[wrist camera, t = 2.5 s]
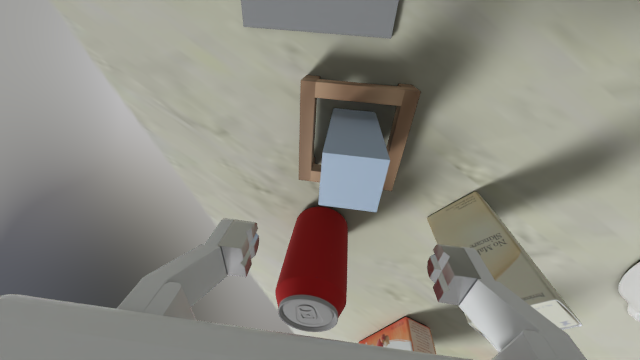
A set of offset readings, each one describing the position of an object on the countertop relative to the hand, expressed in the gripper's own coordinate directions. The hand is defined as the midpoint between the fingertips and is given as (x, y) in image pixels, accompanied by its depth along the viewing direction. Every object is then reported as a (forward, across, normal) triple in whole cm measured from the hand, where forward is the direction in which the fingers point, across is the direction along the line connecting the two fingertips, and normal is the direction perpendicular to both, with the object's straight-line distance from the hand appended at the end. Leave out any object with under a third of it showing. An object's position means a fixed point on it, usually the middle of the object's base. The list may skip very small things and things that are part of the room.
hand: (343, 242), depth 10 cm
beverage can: (+15, +1, +13) cm, 20 cm away
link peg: (+15, -1, 0) cm, 15 cm away
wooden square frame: (+15, -1, 0) cm, 15 cm away
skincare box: (+15, -15, +9) cm, 23 cm away
